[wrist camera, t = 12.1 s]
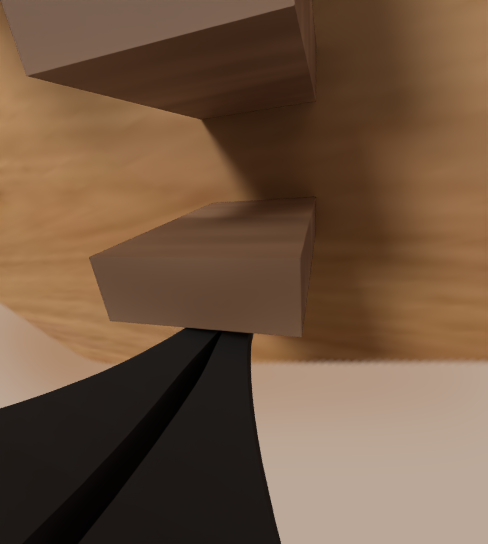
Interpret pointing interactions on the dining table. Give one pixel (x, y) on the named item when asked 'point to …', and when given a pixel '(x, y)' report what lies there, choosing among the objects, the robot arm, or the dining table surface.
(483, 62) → the dining table surface
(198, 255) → the walnut domino
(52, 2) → the walnut domino
